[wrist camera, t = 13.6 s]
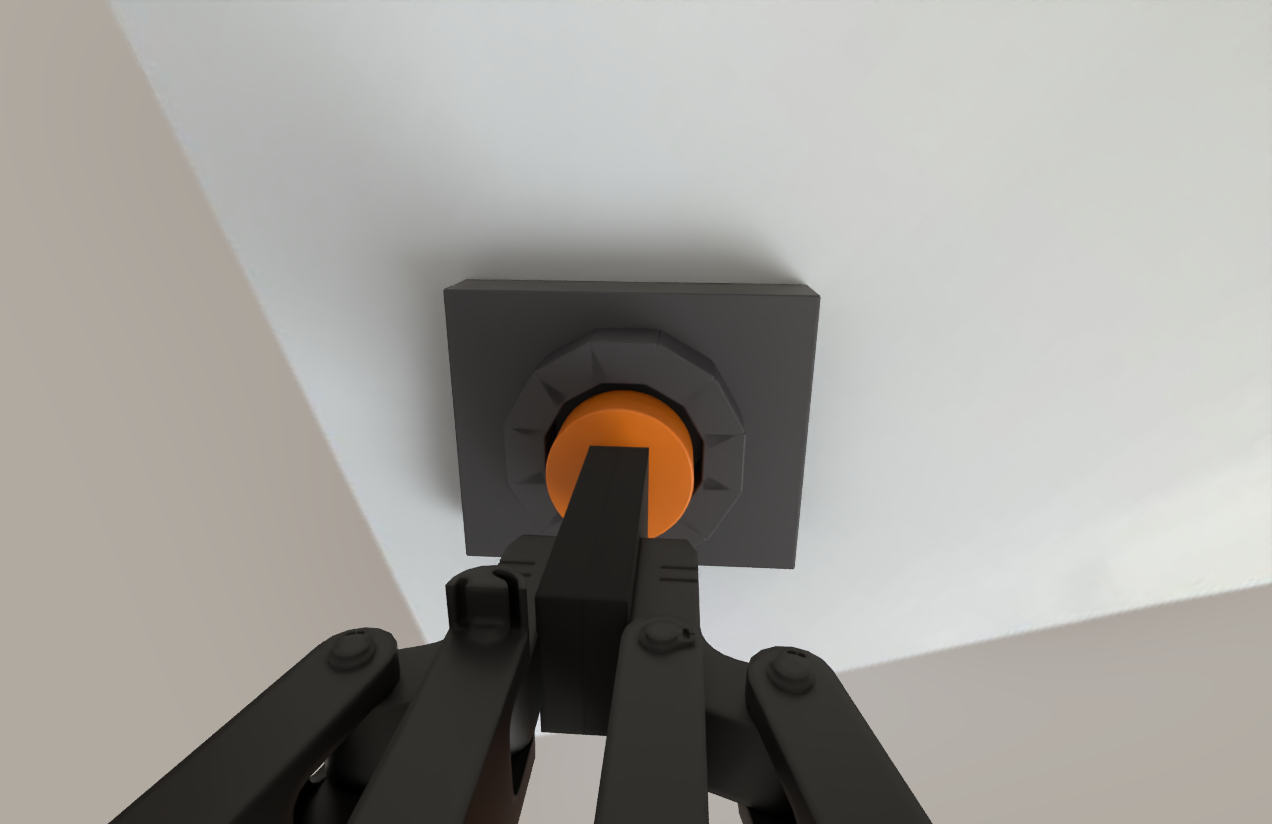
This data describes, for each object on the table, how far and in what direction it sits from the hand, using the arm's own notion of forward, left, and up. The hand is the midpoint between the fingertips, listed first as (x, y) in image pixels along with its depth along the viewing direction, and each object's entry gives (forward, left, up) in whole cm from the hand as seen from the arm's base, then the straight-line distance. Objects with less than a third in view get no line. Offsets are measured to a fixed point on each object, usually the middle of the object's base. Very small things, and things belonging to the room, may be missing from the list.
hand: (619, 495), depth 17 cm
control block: (0, 0, -6) cm, 6 cm away
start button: (0, 0, -3) cm, 3 cm away
